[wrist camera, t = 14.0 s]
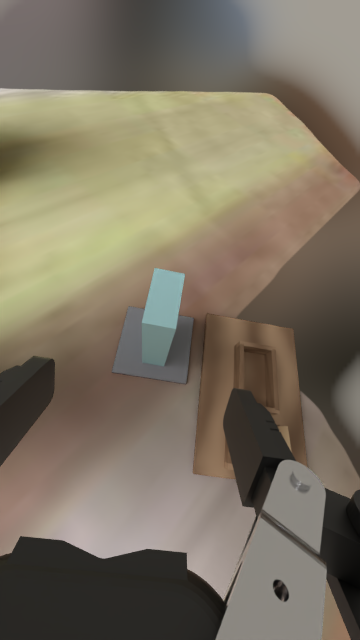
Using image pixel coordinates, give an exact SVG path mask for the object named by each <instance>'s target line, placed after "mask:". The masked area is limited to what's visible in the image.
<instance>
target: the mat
mask: <svg viewBox="0 0 360 640" xmlns="http://www.w3.org/2000/svg"><path fill="white" fill-rule="evenodd" d="M144 311H145V309H141V308H136V307H130V306H129V307H128V311H127V315H126V319H125V322H124V326H123V330H122V334H121V338H120V342H119V346H118V349H117V353H116V357H115V361H114V365H113V369H112V373H118V374H125V375H131V376H137V377H144V378H150V379H156V380H163V381H169V382H175V383H182V384H186V382H187V373H188V364H189V355H190V346H191V338H192V329H193V320H194V318H191V317H186V316H180V315H178V320H177V326H176V331H175V334H174V337H173V340H172V343H171V346H170V349H169V352H168V355H167V359H166V362H165V365H164V366H159V365H153V364H147V363H142V319H143V315H144Z"/></svg>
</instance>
